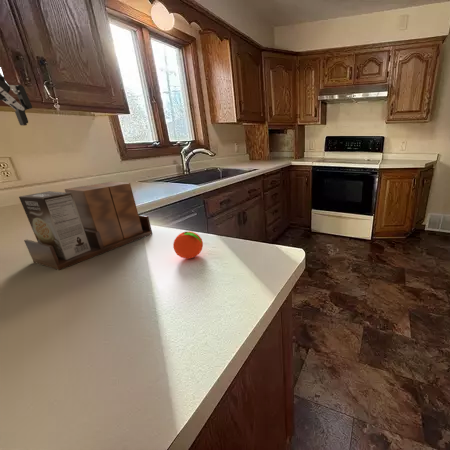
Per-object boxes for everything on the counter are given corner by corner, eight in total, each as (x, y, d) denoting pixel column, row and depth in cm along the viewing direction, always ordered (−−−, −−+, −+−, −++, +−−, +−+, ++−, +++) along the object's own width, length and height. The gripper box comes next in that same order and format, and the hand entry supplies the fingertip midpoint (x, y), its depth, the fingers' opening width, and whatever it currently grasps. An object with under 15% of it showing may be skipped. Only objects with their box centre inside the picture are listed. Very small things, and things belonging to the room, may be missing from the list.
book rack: (58, 270, 59) (30, 201, 53) (33, 262, 64) (4, 197, 58) (152, 233, 81) (139, 181, 75) (128, 229, 85) (114, 180, 79)
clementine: (213, 253, 65) (209, 228, 63) (195, 265, 59) (189, 238, 57) (190, 249, 68) (185, 226, 66) (169, 261, 62) (164, 235, 60)
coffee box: (41, 256, 64) (16, 196, 58) (69, 246, 70) (48, 190, 64) (66, 260, 61) (41, 197, 56) (92, 249, 67) (73, 192, 62)
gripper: (7, 63, 68) (30, 126, 73) (-82, 48, 56) (-46, 124, 61) (20, 59, 65) (43, 125, 71) (-70, 42, 53) (-34, 123, 58)
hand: (2, 124), depth 66 cm, fingers open, 8 cm apart
